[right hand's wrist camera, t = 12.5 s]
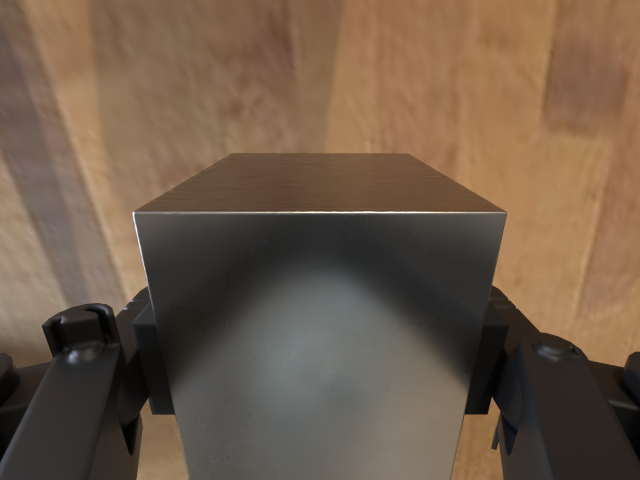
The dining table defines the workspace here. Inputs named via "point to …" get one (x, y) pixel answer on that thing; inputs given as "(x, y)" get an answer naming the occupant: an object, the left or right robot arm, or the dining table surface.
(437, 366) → the block
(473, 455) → the dining table surface
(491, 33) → the dining table surface
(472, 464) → the dining table surface
